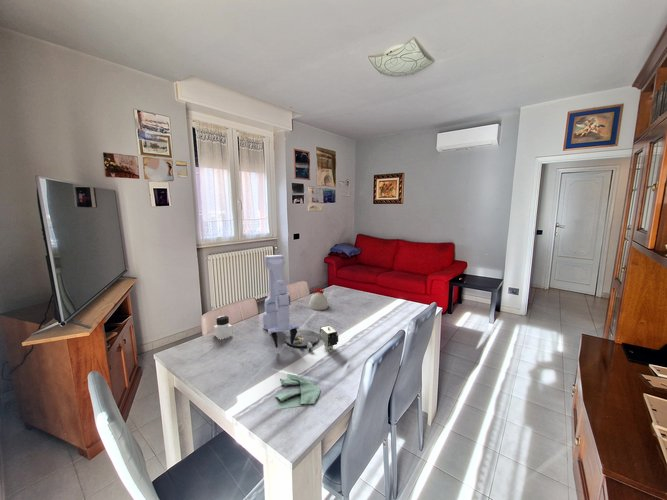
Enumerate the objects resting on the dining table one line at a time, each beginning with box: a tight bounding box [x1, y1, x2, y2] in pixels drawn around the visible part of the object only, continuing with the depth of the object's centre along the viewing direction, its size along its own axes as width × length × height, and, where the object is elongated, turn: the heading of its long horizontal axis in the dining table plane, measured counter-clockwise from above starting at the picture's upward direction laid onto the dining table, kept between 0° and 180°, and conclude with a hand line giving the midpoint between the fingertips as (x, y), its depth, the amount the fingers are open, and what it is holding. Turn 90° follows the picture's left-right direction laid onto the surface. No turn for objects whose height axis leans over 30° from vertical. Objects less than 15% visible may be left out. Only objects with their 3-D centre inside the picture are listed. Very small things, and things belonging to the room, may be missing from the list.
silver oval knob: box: [306, 342, 312, 352], centre depth 135 cm, size 3×2×4 cm, turn 70°
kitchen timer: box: [308, 287, 329, 311], centre depth 194 cm, size 14×14×15 cm
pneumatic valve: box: [319, 325, 339, 353], centre depth 135 cm, size 6×12×12 cm, turn 27°
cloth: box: [275, 373, 321, 410], centre depth 107 cm, size 20×22×2 cm
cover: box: [294, 330, 301, 340], centre depth 144 cm, size 5×5×4 cm
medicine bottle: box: [213, 315, 234, 341], centre depth 148 cm, size 7×7×12 cm
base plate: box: [280, 333, 322, 352], centre depth 146 cm, size 19×19×1 cm
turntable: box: [285, 329, 318, 347], centre depth 146 cm, size 17×17×4 cm
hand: (284, 345), depth 135 cm, fingers open, 7 cm apart
